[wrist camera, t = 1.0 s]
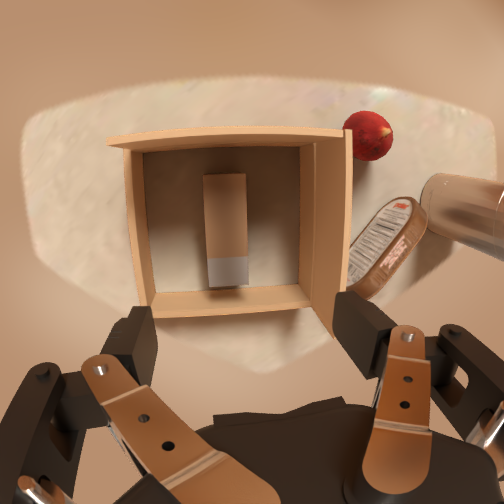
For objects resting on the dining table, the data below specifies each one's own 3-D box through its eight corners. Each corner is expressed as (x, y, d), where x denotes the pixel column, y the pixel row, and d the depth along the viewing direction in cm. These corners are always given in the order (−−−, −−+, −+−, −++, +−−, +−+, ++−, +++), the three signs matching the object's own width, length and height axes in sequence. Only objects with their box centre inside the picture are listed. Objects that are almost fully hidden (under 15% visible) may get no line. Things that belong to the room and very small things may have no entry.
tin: (334, 288, 38) (362, 318, 30) (319, 275, 37) (345, 303, 29) (402, 204, 36) (441, 215, 28) (389, 188, 35) (429, 196, 27)
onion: (364, 167, 34) (401, 170, 26) (325, 149, 33) (356, 146, 25) (377, 127, 33) (414, 122, 25) (339, 107, 31) (371, 95, 24)
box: (239, 172, 32) (245, 173, 27) (242, 265, 35) (248, 284, 30) (204, 174, 32) (202, 175, 26) (209, 267, 35) (209, 287, 29)
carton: (306, 140, 32) (352, 129, 21) (303, 289, 37) (339, 338, 26) (135, 146, 30) (96, 138, 18) (150, 299, 35) (128, 354, 24)
